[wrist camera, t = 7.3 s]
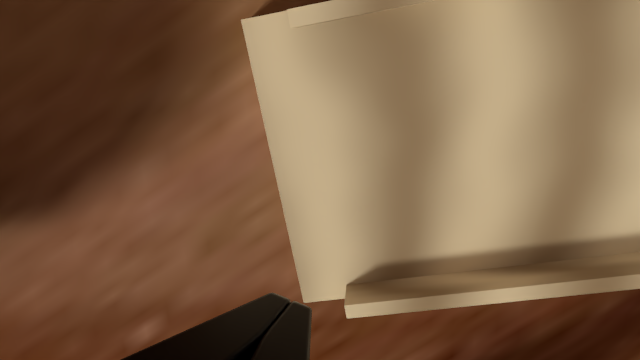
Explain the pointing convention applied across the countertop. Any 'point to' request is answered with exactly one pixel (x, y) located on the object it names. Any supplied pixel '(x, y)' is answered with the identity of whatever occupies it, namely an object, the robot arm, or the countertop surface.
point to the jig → (454, 148)
